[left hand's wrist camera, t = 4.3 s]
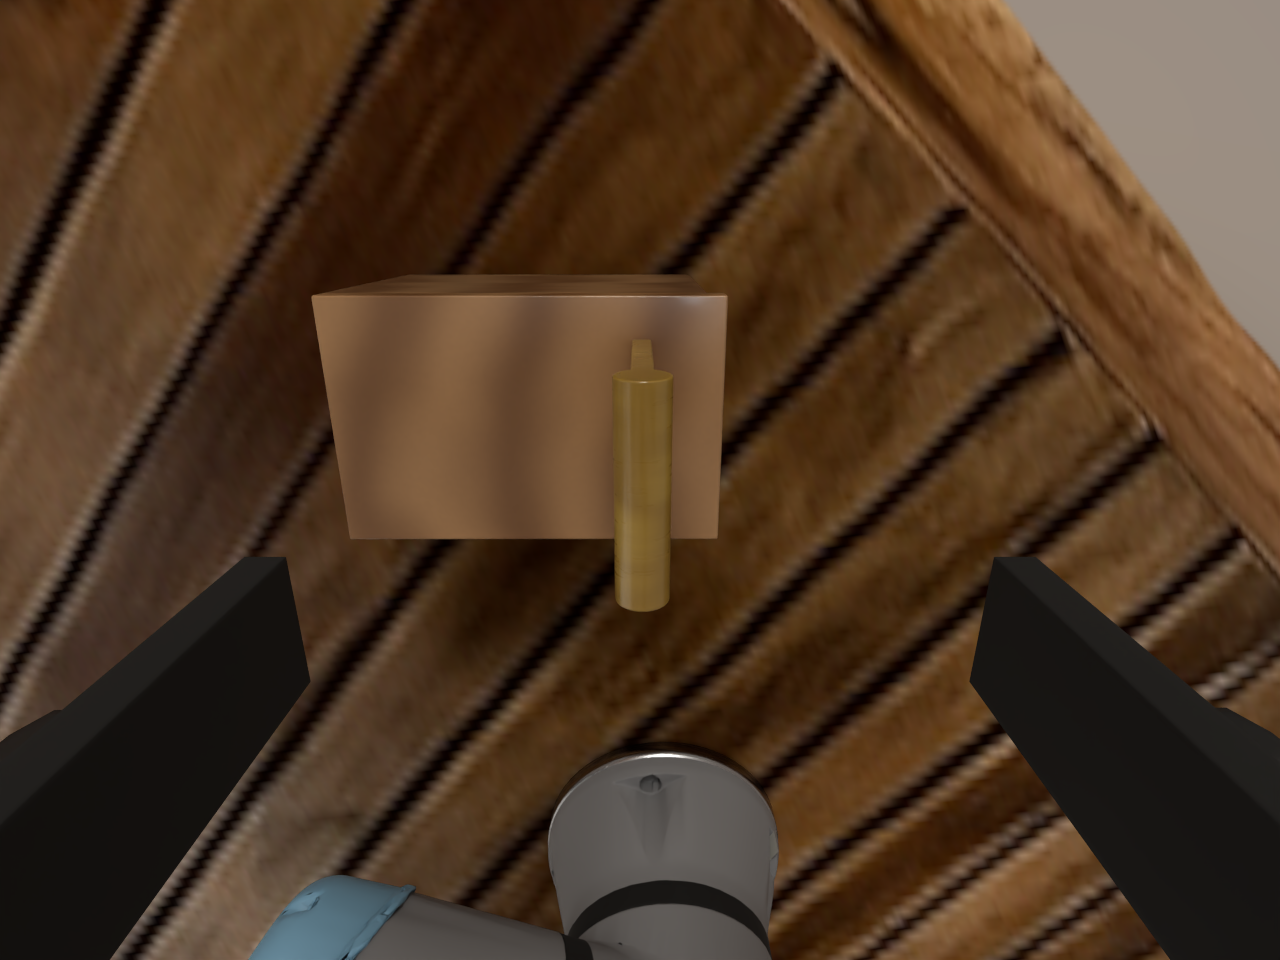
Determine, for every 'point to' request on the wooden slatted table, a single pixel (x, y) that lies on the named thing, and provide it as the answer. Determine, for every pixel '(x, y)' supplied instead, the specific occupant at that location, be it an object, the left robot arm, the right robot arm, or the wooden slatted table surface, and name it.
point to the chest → (530, 284)
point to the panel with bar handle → (531, 419)
